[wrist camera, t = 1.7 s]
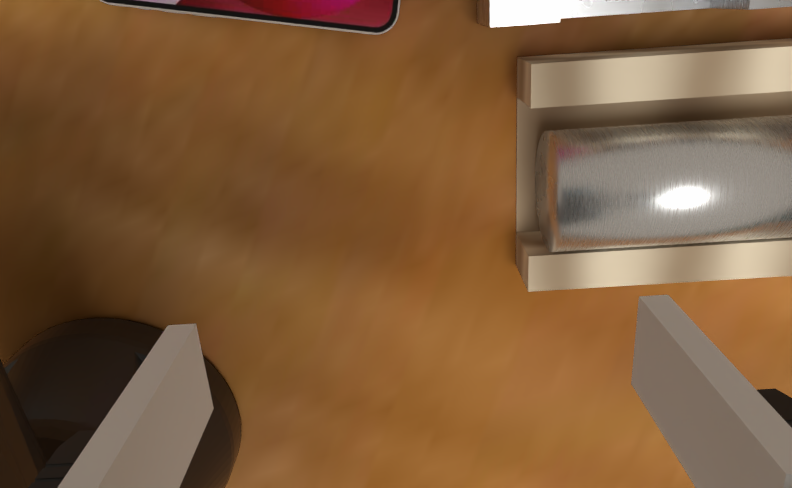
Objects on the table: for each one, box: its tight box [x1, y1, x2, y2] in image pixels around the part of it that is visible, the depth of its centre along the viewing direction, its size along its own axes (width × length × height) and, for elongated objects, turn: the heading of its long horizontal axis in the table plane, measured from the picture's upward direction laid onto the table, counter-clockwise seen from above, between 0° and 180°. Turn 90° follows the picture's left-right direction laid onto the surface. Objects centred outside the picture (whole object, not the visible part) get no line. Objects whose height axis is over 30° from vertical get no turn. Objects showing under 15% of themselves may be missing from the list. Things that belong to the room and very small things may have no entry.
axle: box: [535, 115, 792, 252], centre depth 31 cm, size 14×6×6 cm, turn 94°
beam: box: [516, 38, 792, 292], centre depth 32 cm, size 16×12×4 cm
